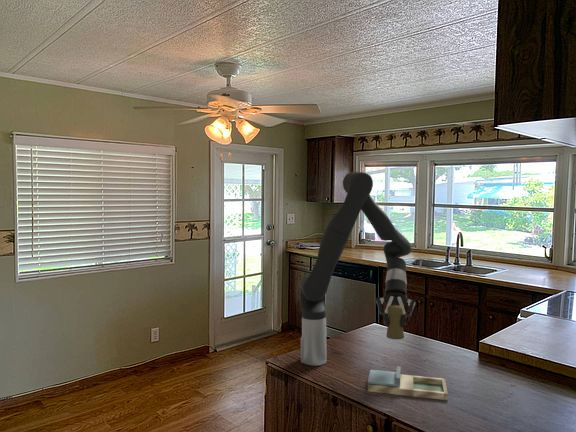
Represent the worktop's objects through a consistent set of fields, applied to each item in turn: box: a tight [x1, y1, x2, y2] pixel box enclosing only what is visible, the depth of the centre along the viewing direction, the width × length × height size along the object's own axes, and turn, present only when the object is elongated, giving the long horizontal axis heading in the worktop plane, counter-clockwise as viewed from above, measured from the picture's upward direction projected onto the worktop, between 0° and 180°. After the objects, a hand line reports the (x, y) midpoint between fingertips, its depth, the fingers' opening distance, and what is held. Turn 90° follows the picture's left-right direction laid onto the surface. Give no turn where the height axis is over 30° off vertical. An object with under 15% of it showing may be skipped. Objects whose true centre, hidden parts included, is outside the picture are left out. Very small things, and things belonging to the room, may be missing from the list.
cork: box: [386, 305, 405, 340], centre depth 147 cm, size 6×6×11 cm
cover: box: [367, 365, 402, 387], centre depth 139 cm, size 10×10×3 cm
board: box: [367, 373, 449, 401], centre depth 137 cm, size 24×11×2 cm, turn 74°
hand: (394, 325), depth 146 cm, fingers closed on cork, 4 cm apart
